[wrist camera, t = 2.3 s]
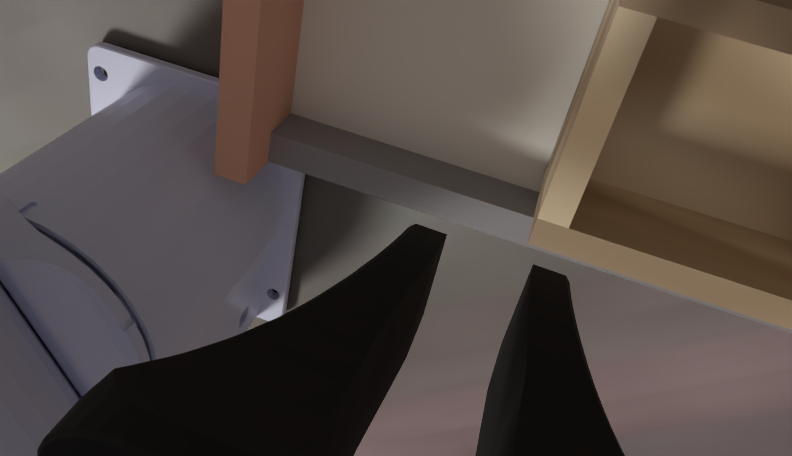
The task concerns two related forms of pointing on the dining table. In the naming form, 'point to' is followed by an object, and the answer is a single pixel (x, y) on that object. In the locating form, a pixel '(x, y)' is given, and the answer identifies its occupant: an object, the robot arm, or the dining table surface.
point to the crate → (681, 153)
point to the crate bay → (408, 100)
